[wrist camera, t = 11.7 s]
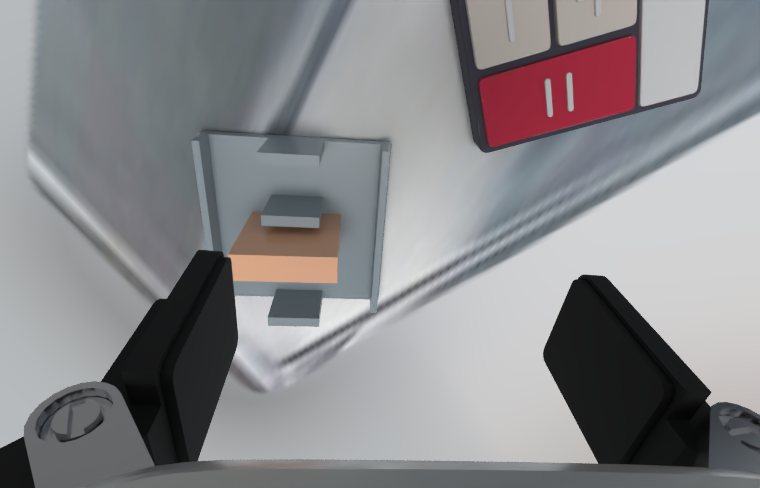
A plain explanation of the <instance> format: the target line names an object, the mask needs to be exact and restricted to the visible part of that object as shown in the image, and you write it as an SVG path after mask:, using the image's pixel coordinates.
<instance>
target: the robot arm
mask: <svg viewBox="0 0 760 488" xmlns="http://www.w3.org/2000/svg"><path fill="white" fill-rule="evenodd" d="M237 342H238V330H237V319H236V307H235V296H234V284H233V273H232V262H231V258H230V257H224V254H223V252H222V251H209V250H198V251H197V252H196V254H195V256H194V257H193V259H192V260H191V262H190V263H189V265H188V267H187V268H186V270H185V271H184V273H183V274H182V276H181V278H180V279H179V281H178V282H177V284H176V285H175V287H174V288H173V290H172V292H171V293H170V295H169V296H168V298H167V299H159V300H156V302H155V303H154V304H153V305H152V307H151V308H150V310H149V311H148V313H147V314H146V316H145V317H144V319H143V320H142V322H141V323H140V324H139V326H138V328H137V329H136V331H135V332H134V334H133V335H132V337H131V338H130V339H129V341H128V342H127V344H126V345H125V347H124V348H123V350H122V351H121V353H120V354H119V356H118V357H117V359H116V360H115V362H114V363H113V365H112V366H111V368H110V370H108V372H107V373H106V375H105V376H104V378H103V379H102V381H101V382H87V383H80V384H77V385H74V386H71V387H67V388H65V389H63V390H61V391H59V392H57V393H55V394H53V395H52V396H50V397H49V398H48V399H46V400H45V401H43V402H42V403H41V404H40V405H39V406H38V407H37V408H36V409H35V410H34V411H33V412H32V414H31V415H30V416H29V418H28V420H27V422H26V424H25V426H24V437H22V438H20V439H18V440H16V441H14V442H12V443H10V444H8V445H6V446H4V447H2V448H0V488H760V415H759V414H757V413H755V412H753V411H751V410H750V409H748V408H745V407H742V406H740V405H737V404H733V403H728V402H720V403H719V402H718V403H716V404H714V405H713V406H712V407H710V406H709V405H708V404H707V403H706V401H705V400H706V399H707V397H708V396H709V395H710V393H711V391H710V390H709V389H708V388H707V387H706V386H705V385H704V384H703V383H702V381H701V380H700V379H699V378H698V377H697V376H696V375H695V374H694V373H693V372H692V370H691V369H690V368H689V367H688V366H687V365H686V364H685V363H684V362H683V361H682V360H681V359H680V357H679V356H678V355H677V354H676V353H675V352H674V351H673V350H672V349H671V348H670V346H669V345H668V344H667V343H666V342H665V341H664V340H663V339H662V338H661V337H660V335H659V334H658V333H657V332H656V331H655V330H654V329H653V328H652V327H651V326H650V325H649V323H648V322H646V320H645V319H644V318H643V317H642V316H641V315H640V314H639V313H638V311H637V310H636V309H635V308H634V307H633V306H632V305H631V304H630V303H629V302H628V300H627V299H626V298H625V297H624V296H623V295H622V294H621V293H620V292H619V291H618V290H617V289H616V287H614V285H613V284H612V283H611V282H610V281H609V280H608V279H607V278H606V277H605V276H597V275H582V276H580V277H579V278H578V279H577V280H574V281H573V283H572V284H571V287H570V289H569V292H568V294H567V296H566V298H565V301H564V303H563V305H562V308H561V310H560V312H559V315H558V317H557V319H556V322H555V325H554V326H553V329H552V331H551V334H550V336H549V339H548V341H547V343H546V345H545V348H544V352H543V357H544V361H545V363H546V365H547V367H548V369H549V371H550V373H551V374H552V376H553V378H554V380H555V382H556V384H557V386H558V388H559V390H560V391H561V393H562V395H563V397H564V399H565V401H566V403H567V405H568V407H569V409H570V410H571V412H572V414H573V416H574V418H575V420H576V422H577V424H578V426H579V428H580V429H581V431H582V433H583V435H584V437H585V439H586V441H587V443H588V445H589V446H590V448H591V450H592V452H593V454H594V456H595V458H596V460H597V462H598V464H582V463H580V464H579V463H533V462H474V461H472V462H471V461H404V460H403V461H402V460H401V461H400V460H397V461H396V460H303V459H299V460H298V459H297V460H216V461H198V458H199V455H200V452H201V449H202V446H203V443H204V440H205V438H206V435H207V432H208V429H209V426H210V423H211V420H212V417H213V414H214V411H215V409H216V406H217V403H218V400H219V397H220V394H221V391H222V388H223V385H224V383H225V379H226V377H227V374H228V371H229V368H230V365H231V362H232V359H233V357H234V354H235V351H236V347H237Z"/></svg>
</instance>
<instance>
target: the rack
mask: <svg viewBox="0 0 760 488" xmlns="http://www.w3.org/2000/svg"><path fill="white" fill-rule="evenodd" d="M191 143H192V150H193V157H194V164H195V171H196V178H197V185H198V192H199V200H200V207H201V214H202V221H203V228H204V235H205V242H206V249H207V250H209V251H222V252H223V254H224V257H228V253H229V251H230V250H231V248H232V246H233V244H234V243H235V241H236V239H237V238H238V236H239V234H240V232H241V231H242V229H243V227H244V225H245V224H246V222H247V220H248V218H249V217H250V215H251V213H252V212H262V214H261V226H280V227H304V228H319V226H320V221H321V215H322V214H336V215H341V239H340V253H339V266H338V280H337V283H302V282H259V281H233V284H234V295H239V296H274V299H273V302H272V305H271V309H270V312H269V315H268V325H270V326H314V327H319V321H320V313H321V305H322V298H344V299H370V312H371V313H376V311H377V299H378V295H379V283H380V272H381V260H382V248H383V236H384V224H385V212H386V200H387V188H388V176H389V164H390V152H391V143H390V142H386V141H369V140H352V139H335V138H318V137H301V136H284V135H268V134H251V133H234V132H217V131H201V132H199V133H198V136H197V137H196V138H194V139H193V140H191Z"/></svg>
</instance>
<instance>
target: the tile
mask: <svg viewBox="0 0 760 488" xmlns="http://www.w3.org/2000/svg"><path fill="white" fill-rule="evenodd" d="M261 214H262V212H252V213H251V215H250V217H249V218H248V220H247V222H246V224H245V225H244V227H243V229H242V231H241V232H240V234H239V236H238V238H237V239H236V241H235V243H234V244H233V246H232V248H231V250H230V251H229V253H228V257H230V258H231V262H232V273H233V281H259V282H302V283H337V280H338V266H339V253H340V239H341V215H336V214H322V215H321V221H320V226H319V228H304V227H280V226H261Z"/></svg>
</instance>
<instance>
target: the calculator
mask: <svg viewBox="0 0 760 488" xmlns="http://www.w3.org/2000/svg"><path fill="white" fill-rule="evenodd" d="M450 4H451V10H452V16H453V22H454V28H455V34H456V40H457V45H458V51H459V57H460V63H461V69H462V75H463V81H464V87H465V93H466V99H467V105H468V111H469V116H470V122H471V128H472V134H473V139H474V142H475V143H476V145H477V146H478V147H479V148H480V150H481V151H482V152H485V153H488V152H492V151H496V150H500V149H503V148H507V147H511V146H515V145H518V144H522V143H526V142H530V141H533V140H537V139H541V138H545V137H548V136H552V135H556V134H560V133H564V132H567V131H571V130H575V129H579V128H582V127H586V126H590V125H594V124H597V123H601V122H605V121H609V120H612V119H616V118H620V117H624V116H628V115H631V114H635V113H639V112H643V111H646V110H650V109H654V108H658V107H661V106H665V105H669V104H673V103H676V102H680V101H684V100H688V99H691V98H694V97H696V96H697V95H698V94H699V93H700V90H701V81H702V70H703V59H704V48H705V37H706V26H707V15H708V4H709V0H450Z"/></svg>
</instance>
